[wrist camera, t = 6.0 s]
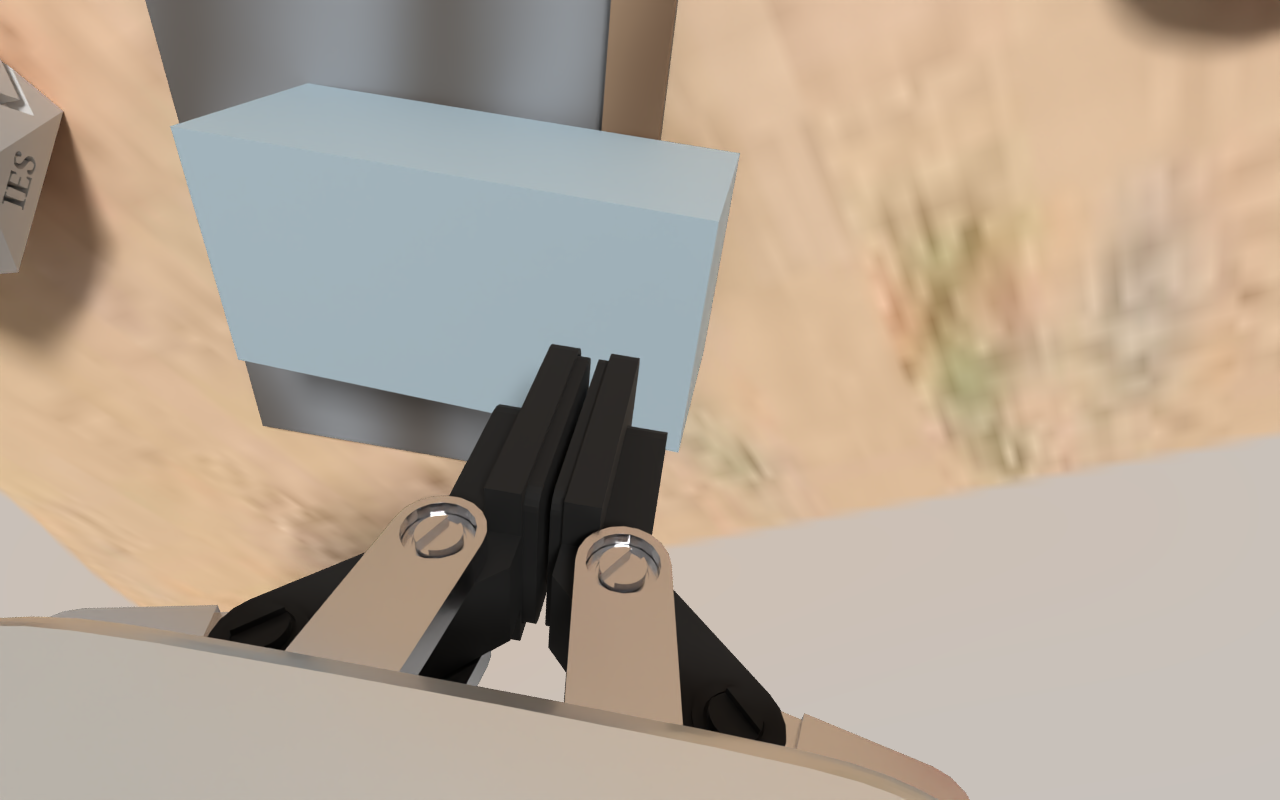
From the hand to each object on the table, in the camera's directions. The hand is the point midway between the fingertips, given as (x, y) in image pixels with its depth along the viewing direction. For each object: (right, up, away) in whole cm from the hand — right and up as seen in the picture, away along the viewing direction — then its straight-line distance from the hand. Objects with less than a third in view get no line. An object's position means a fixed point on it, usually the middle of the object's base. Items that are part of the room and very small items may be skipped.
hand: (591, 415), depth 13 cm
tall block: (+3, +3, +4) cm, 6 cm away
